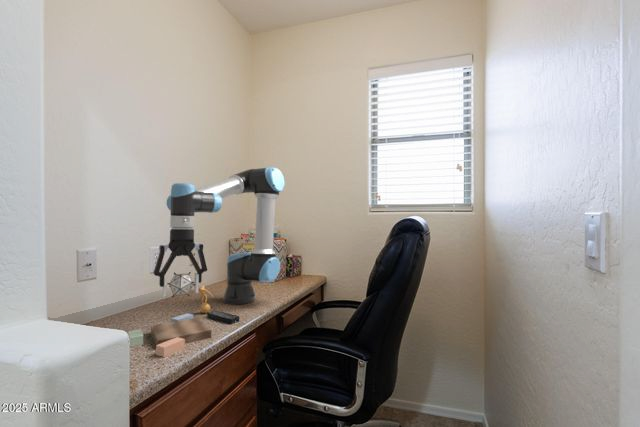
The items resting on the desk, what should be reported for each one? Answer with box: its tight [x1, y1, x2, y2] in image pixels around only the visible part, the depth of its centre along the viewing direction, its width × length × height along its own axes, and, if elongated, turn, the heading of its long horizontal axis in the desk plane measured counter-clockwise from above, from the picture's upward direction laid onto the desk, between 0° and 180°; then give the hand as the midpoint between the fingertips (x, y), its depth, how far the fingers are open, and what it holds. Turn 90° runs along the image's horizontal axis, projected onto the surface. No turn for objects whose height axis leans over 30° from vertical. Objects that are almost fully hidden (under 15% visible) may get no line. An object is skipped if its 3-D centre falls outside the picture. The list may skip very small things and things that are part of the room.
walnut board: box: [150, 317, 212, 346], centre depth 104 cm, size 16×16×2 cm
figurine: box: [194, 285, 214, 314], centre depth 128 cm, size 8×6×12 cm
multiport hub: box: [206, 309, 240, 325], centre depth 121 cm, size 4×14×2 cm, turn 57°
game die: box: [167, 271, 195, 298], centre depth 104 cm, size 9×8×10 cm
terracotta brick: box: [155, 337, 186, 358], centre depth 91 cm, size 7×4×3 cm, turn 153°
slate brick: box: [170, 312, 194, 322], centre depth 115 cm, size 7×4×3 cm, turn 153°
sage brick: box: [127, 328, 144, 347], centre depth 98 cm, size 7×4×3 cm, turn 37°
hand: (180, 294), depth 104 cm, fingers closed on game die, 9 cm apart
